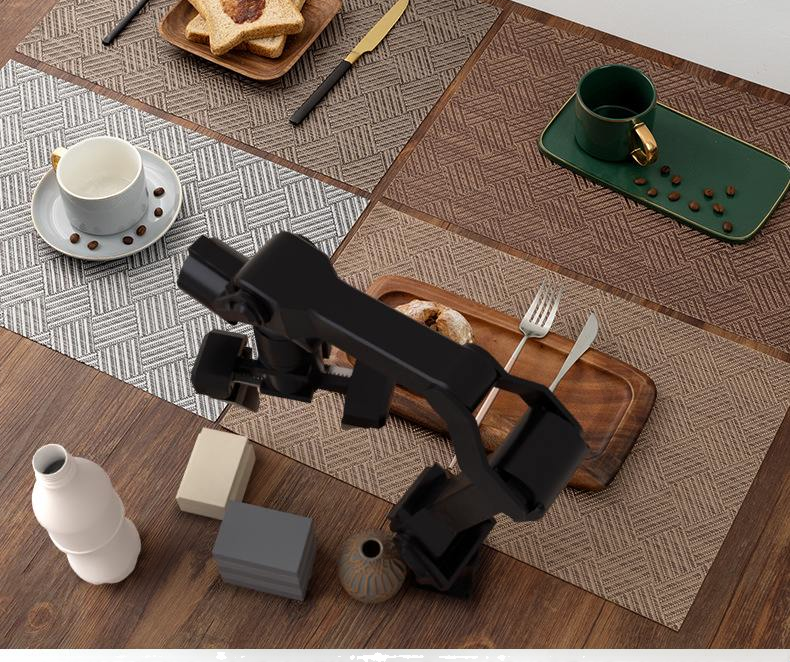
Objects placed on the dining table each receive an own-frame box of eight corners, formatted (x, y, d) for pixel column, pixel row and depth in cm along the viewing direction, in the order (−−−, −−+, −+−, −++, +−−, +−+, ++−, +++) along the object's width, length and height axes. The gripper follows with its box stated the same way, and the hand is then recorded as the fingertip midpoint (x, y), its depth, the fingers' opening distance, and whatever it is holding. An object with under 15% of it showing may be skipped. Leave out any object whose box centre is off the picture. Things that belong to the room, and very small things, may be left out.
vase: (378, 625, 114) (377, 598, 106) (325, 583, 116) (320, 555, 109) (419, 571, 117) (421, 541, 109) (366, 531, 119) (365, 500, 112)
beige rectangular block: (256, 458, 124) (252, 444, 121) (235, 523, 119) (230, 510, 116) (203, 446, 124) (198, 432, 121) (180, 510, 120) (175, 497, 117)
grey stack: (317, 549, 118) (312, 518, 110) (303, 601, 115) (297, 572, 107) (239, 531, 119) (229, 499, 112) (223, 582, 116) (211, 552, 108)
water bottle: (132, 598, 115) (74, 507, 94) (65, 584, 116) (-7, 490, 95) (154, 531, 119) (104, 429, 98) (89, 518, 120) (25, 414, 99)
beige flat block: (225, 511, 116) (224, 507, 115) (179, 501, 117) (177, 496, 116) (249, 441, 121) (248, 436, 120) (204, 431, 121) (202, 426, 120)
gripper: (409, 282, 104) (409, 364, 117) (214, 247, 106) (235, 331, 119) (383, 389, 98) (385, 463, 111) (176, 349, 100) (202, 426, 113)
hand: (301, 416), depth 113 cm, fingers open, 9 cm apart
